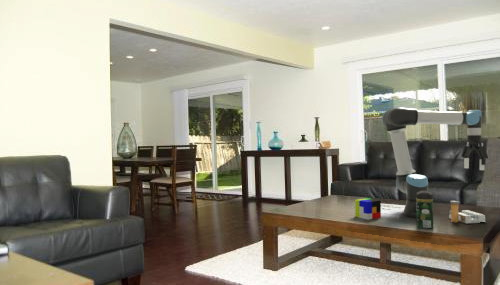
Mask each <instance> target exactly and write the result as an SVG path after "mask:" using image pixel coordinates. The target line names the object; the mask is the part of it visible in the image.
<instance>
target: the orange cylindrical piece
mask: <svg viewBox="0 0 500 285" xmlns="http://www.w3.org/2000/svg"><path fill="white" fill-rule="evenodd" d="M449 203H450V211H451V218H450V221H451V223H460V221H459V220H458V212H459V204H460V201H458V200H449Z"/></svg>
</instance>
